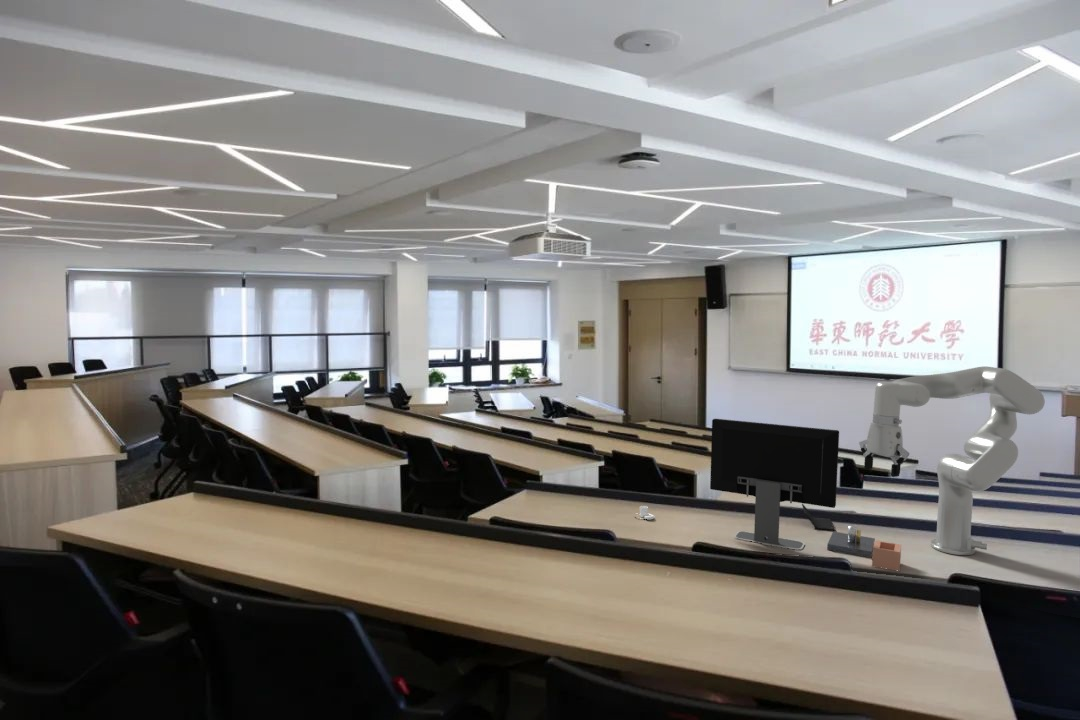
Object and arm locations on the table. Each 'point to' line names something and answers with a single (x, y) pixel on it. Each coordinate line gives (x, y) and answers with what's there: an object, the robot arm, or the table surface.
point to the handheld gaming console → (819, 522)
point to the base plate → (851, 543)
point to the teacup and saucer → (645, 513)
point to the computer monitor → (774, 470)
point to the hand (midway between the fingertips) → (881, 472)
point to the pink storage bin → (886, 555)
